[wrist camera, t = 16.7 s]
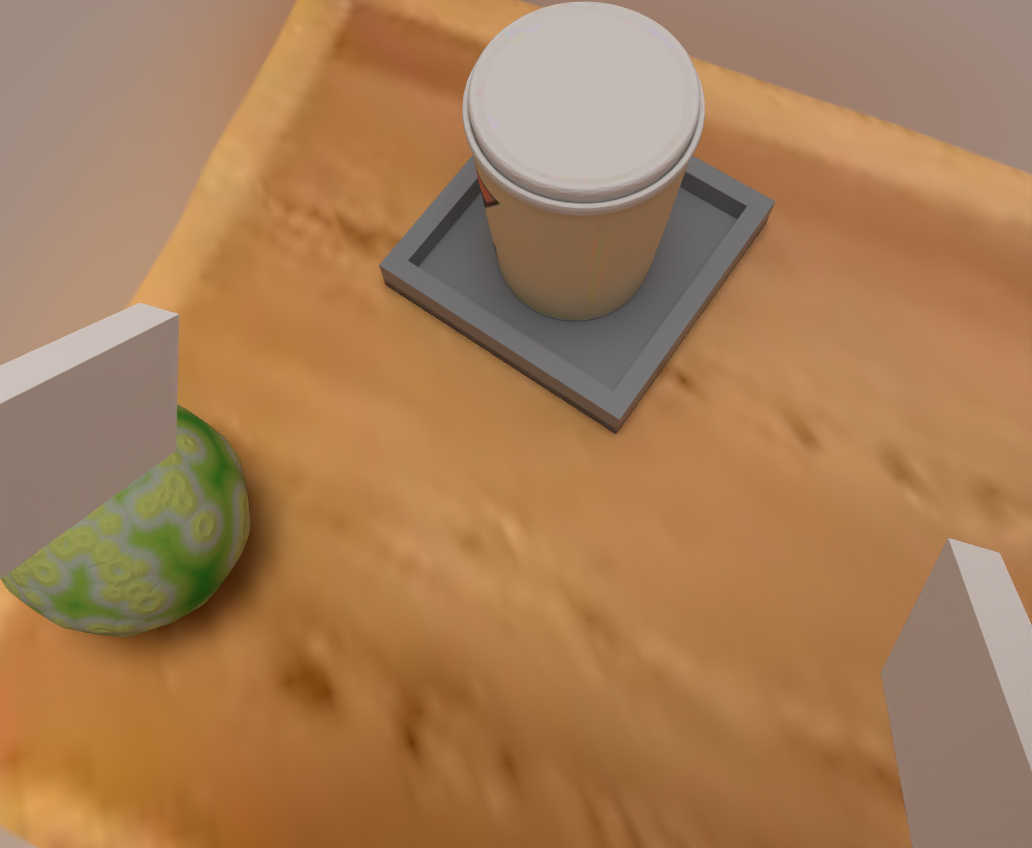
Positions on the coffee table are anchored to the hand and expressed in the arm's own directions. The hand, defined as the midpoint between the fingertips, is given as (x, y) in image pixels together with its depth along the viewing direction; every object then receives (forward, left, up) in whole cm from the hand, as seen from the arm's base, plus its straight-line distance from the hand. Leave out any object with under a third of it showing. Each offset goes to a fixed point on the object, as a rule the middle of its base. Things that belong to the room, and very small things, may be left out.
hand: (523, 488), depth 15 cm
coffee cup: (+9, -17, -25) cm, 32 cm away
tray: (+9, -17, -26) cm, 32 cm away
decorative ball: (+16, +6, -26) cm, 31 cm away
